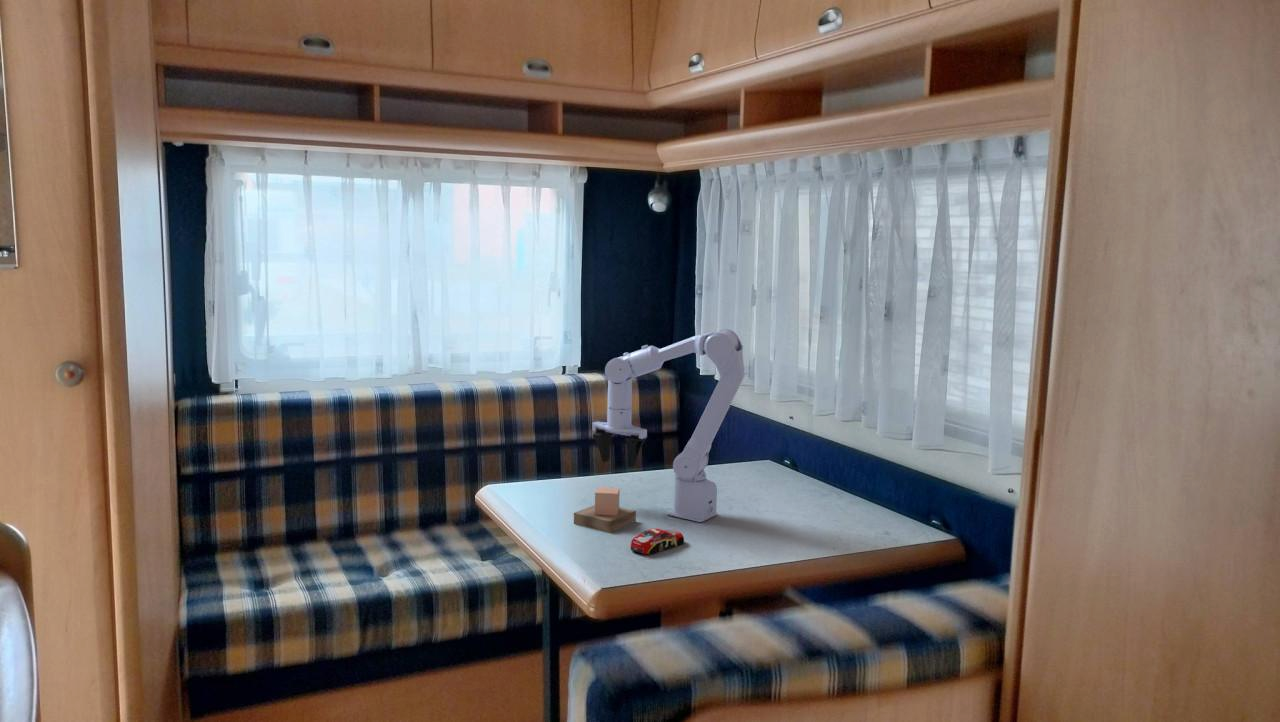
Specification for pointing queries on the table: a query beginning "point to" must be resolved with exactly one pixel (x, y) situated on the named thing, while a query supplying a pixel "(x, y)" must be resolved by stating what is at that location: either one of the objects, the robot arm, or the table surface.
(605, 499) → the terracotta cube
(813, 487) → the table surface
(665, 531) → the race car
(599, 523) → the walnut base block
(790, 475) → the table surface
